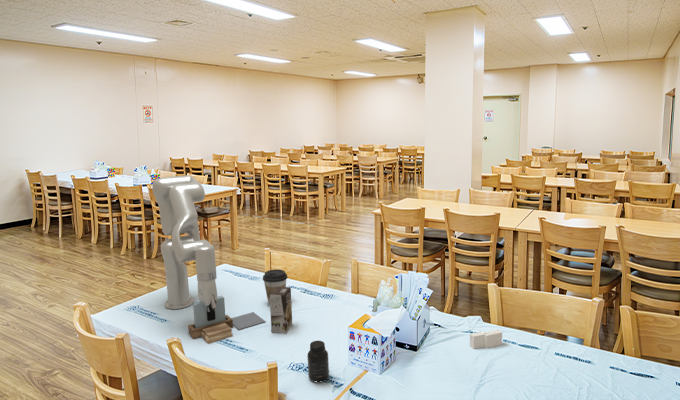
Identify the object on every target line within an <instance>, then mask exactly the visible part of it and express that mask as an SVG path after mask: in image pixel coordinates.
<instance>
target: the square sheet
mask: <svg viewBox="0 0 680 400" xmlns="http://www.w3.org/2000/svg"><path fill="white" fill-rule="evenodd" d="M215 305H216V308H215V318H216V319H215V320H211V321H208V320H207V306H205V305H204V304H203V303H202V302H201V301H199V300H198V301H195V302H193V304H192V307H193V321H194V323H193V324H195V329H196V328H200V327H204V326H207V325H211V324H214V323H218V322H221V321H225V320H226V317H225V315H226V304H225V297H224V296H222V295H220V296H217V304H215ZM211 306H212V305H211ZM211 306H209V308H210V307H211Z"/></svg>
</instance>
